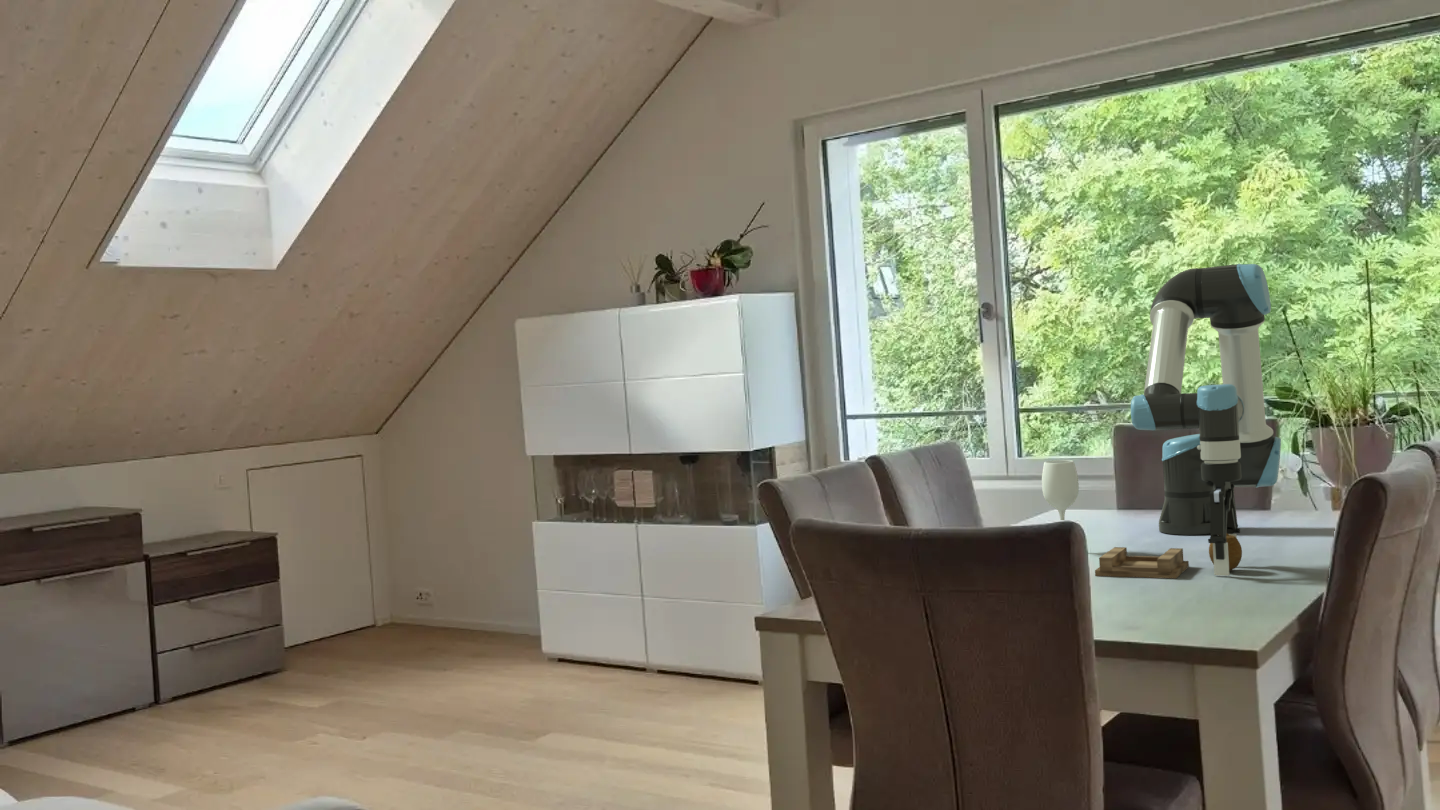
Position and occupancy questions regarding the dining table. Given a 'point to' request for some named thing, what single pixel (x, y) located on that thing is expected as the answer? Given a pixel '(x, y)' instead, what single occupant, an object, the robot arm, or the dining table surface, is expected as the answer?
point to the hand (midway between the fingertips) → (1226, 570)
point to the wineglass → (1060, 484)
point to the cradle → (1142, 564)
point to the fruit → (1230, 551)
